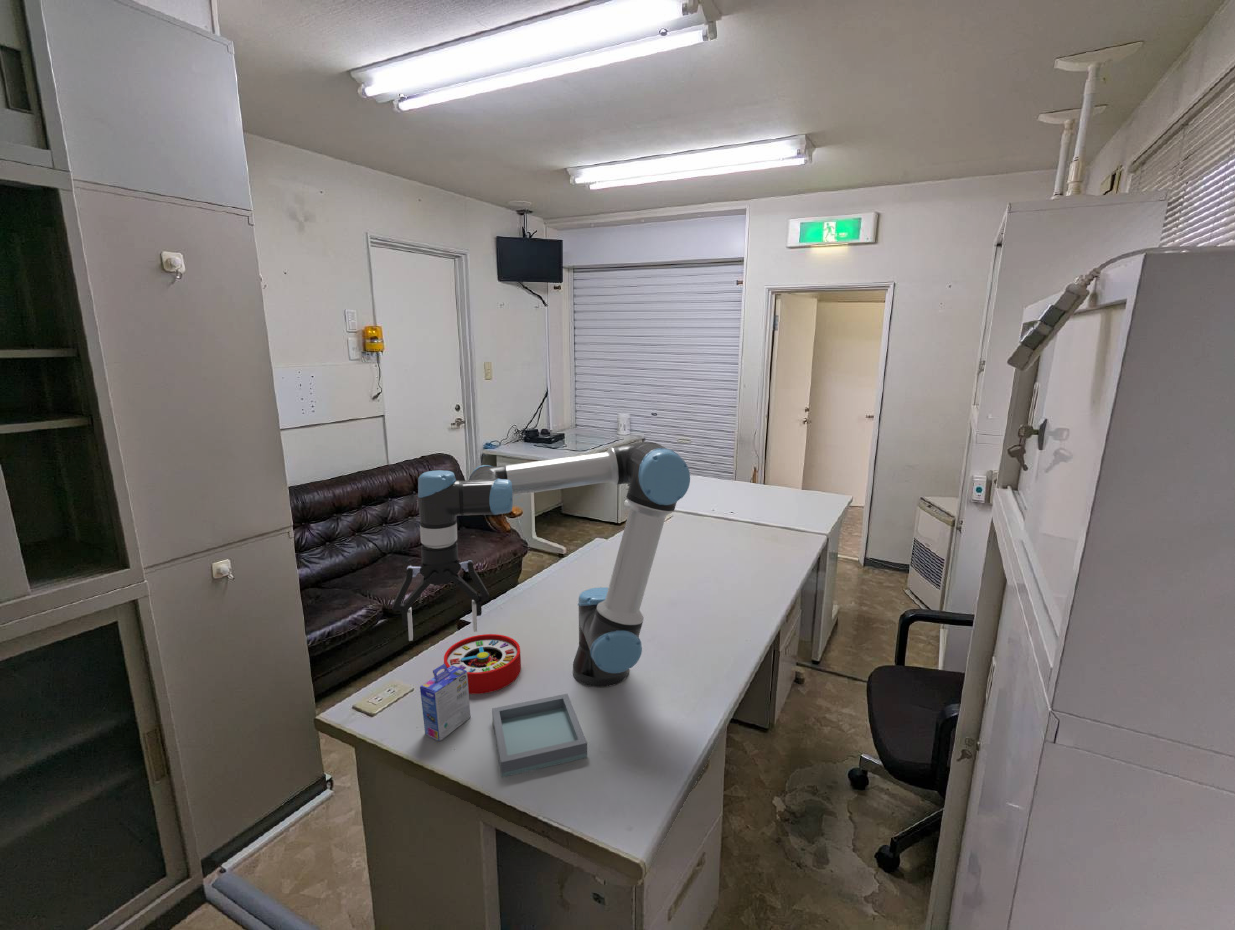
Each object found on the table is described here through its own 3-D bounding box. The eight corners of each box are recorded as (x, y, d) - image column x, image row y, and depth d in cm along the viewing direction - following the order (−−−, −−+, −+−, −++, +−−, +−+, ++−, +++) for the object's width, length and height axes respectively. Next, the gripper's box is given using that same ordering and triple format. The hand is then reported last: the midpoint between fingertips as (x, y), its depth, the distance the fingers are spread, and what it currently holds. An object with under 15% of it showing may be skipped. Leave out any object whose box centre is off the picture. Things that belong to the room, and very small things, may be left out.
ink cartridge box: (455, 709, 132) (451, 655, 129) (472, 717, 129) (468, 661, 126) (422, 734, 123) (417, 676, 121) (439, 742, 121) (435, 683, 118)
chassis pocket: (567, 706, 133) (567, 693, 132) (587, 757, 116) (587, 742, 116) (492, 721, 127) (491, 708, 127) (501, 777, 111) (501, 762, 110)
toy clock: (526, 664, 141) (446, 680, 134) (527, 685, 142) (447, 702, 135) (513, 629, 159) (441, 641, 152) (513, 647, 160) (442, 660, 153)
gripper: (496, 532, 125) (498, 618, 129) (377, 542, 117) (384, 633, 121) (500, 542, 118) (502, 633, 122) (374, 554, 110) (381, 650, 114)
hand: (443, 633), depth 122 cm, fingers open, 13 cm apart
